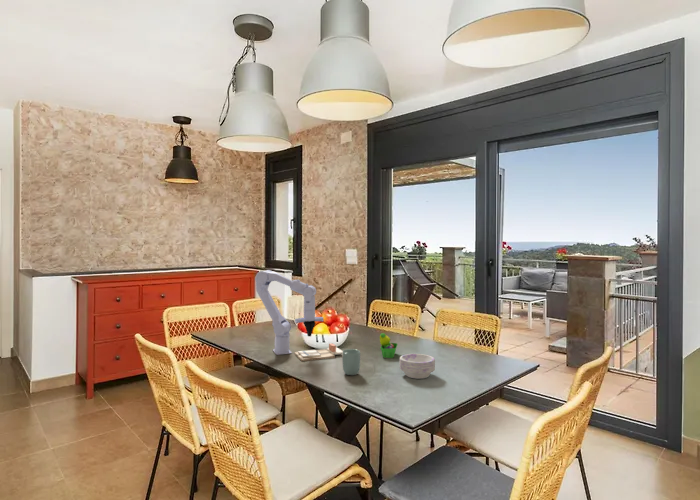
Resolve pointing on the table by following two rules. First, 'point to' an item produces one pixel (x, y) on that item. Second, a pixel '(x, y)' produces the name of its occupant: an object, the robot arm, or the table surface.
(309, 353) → the board
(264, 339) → the table surface
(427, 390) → the table surface
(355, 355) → the cup
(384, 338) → the fruit basket
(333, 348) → the pinkish brown block
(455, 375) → the table surface
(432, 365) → the pale mottled bowl
